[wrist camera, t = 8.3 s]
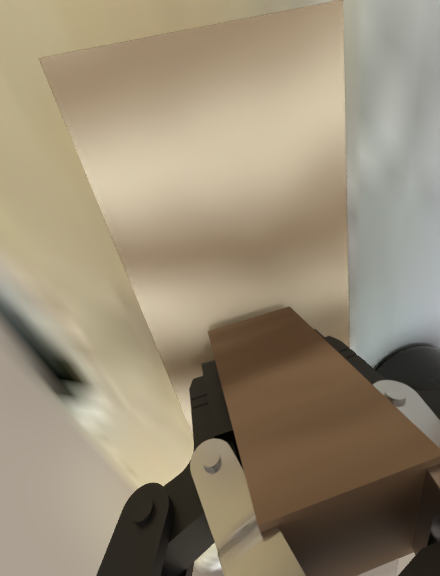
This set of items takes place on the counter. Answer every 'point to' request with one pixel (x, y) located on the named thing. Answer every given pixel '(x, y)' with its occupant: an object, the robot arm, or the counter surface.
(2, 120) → the counter surface
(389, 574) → the brown block
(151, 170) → the board
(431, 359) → the supplement bottle
